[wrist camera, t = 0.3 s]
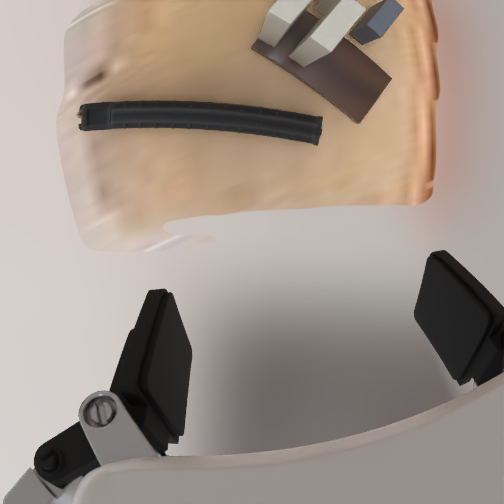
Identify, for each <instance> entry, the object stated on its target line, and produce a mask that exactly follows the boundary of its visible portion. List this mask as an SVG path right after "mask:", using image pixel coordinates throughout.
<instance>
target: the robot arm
mask: <svg viewBox="0 0 504 504" xmlns="http://www.w3.org/2000/svg"><path fill="white" fill-rule="evenodd" d="M414 317H415V320H416V321H417V323H418V324H419V326H420V327H421V329H422V330H423V331H424V333H425V335H426V336H427V338H428V339H429V341H430V342H431V344H432V345H433V347H434V348H435V350H436V352H437V353H438V355H439V356H440V358H441V360H442V361H443V363H444V364H445V366H446V368H447V369H448V371H449V373H450V375H451V376H452V378H453V379H455V380H457V382H458V384H459V385H460V386H461V385H463V384H465V383H467V382H469V381H470V380H471V378H473V379H474V385H473V390H471V391H469V392H467V393H465V394H463V395H461V396H459V397H457V398H455V399H453V400H450V401H449V402H446V403H444V404H442V405H439V406H437V407H435V408H432V409H430V410H428V411H425V412H423V413H420V414H418V415H416V416H413V417H410V418H407V419H404V420H402V421H399V422H397V423H393V424H390V425H387V426H384V427H381V428H378V429H374V430H371V431H368V432H364V433H360V434H357V435H353V436H349V437H345V438H341V439H337V440H332V441H328V442H324V443H318V444H313V445H308V446H302V447H296V448H290V449H283V450H275V451H266V452H257V453H246V454H234V455H213V456H169V455H168V454H167V453H166V452H165V451H166V450H167V449H168V443H172V444H178V441H179V436H183V434H184V428H185V417H186V407H187V396H188V388H189V378H190V368H191V362H192V348H191V345H190V342H189V340H188V337H187V334H186V331H185V328H184V326H183V323H182V320H181V317H180V314H179V311H178V308H177V305H176V302H175V299H174V296H173V294H172V293H171V292H169V293H168V292H167V290H166V289H156V290H149V291H148V293H147V296H146V299H145V301H144V304H143V306H142V309H141V311H140V314H139V317H138V319H137V322H136V325H135V328H134V329H132V330H131V331H130V333H129V335H128V337H127V340H126V343H125V346H124V348H123V351H122V354H121V357H120V360H119V363H118V366H117V369H116V372H115V375H114V378H113V381H112V384H111V387H110V391H97V392H95V393H93V394H91V395H89V396H88V397H87V398H86V399H85V400H84V401H83V402H82V404H81V406H80V409H79V420H80V421H79V422H77V423H76V424H74V425H73V426H71V427H69V428H68V429H66V430H65V431H63V432H62V433H60V434H58V435H57V436H55V437H54V438H52V439H50V440H49V441H47V442H45V443H44V444H43V445H41V446H40V447H39V448H38V450H37V451H36V454H35V457H34V466H35V468H34V469H32V468H29V469H28V470H27V471H26V472H25V473H24V475H23V476H22V477H21V478H20V479H19V481H18V482H17V483H16V484H15V485H14V487H13V488H12V489H11V490H10V491H9V492H8V494H7V495H6V496H5V498H4V500H3V504H504V307H503V306H502V305H501V304H500V303H499V302H498V301H497V299H496V298H495V297H494V296H493V295H492V294H491V293H490V292H489V291H488V290H487V289H486V288H485V287H484V286H483V285H482V284H481V283H480V282H479V281H478V280H477V279H476V278H475V277H474V276H473V275H472V274H471V273H470V272H468V270H466V268H464V267H463V266H462V265H461V264H460V263H459V262H458V261H457V260H456V259H455V258H454V257H452V256H451V255H450V254H449V253H448V252H447V251H445V250H441V251H435V252H432V253H431V254H430V256H429V257H428V258H427V262H426V266H425V271H424V275H423V280H422V284H421V288H420V292H419V295H418V299H417V303H416V306H415V310H414Z"/></svg>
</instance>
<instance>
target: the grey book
mask: <svg viewBox="0 0 504 504" xmlns="http://www.w3.org/2000/svg"><path fill="white" fill-rule="evenodd" d="M403 9H404V8H403V7H402V6H401V5H400V4H399V3H398V2H397V1H395V0H383V1H381V2H379V3H378V4H376V5H374V6H372V7H371V8H370V9H369V10H368V12H367V13H366V14H365V15H364V16H363V18H362V19H361V20H360V21H359V22H358V24H357V25H356V26H355V27H354V28H353V30H352V31H351V32H350V33H349V35H350V36H352V37H353V38H354V39H356V40H357V41H358V42H359V43H360V44H362V45H363V44H365V43H368V42H370V41H373V40H375V39H378V38H381V37H382V36H383V35H384V34H385V32H386V31H387V30H388V28H389V27H390V26H391V25H392V23H393V22H394V21H395V19H396V18H397V17H398V16H399V14H400V13H401V12H402V11H403Z"/></svg>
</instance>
